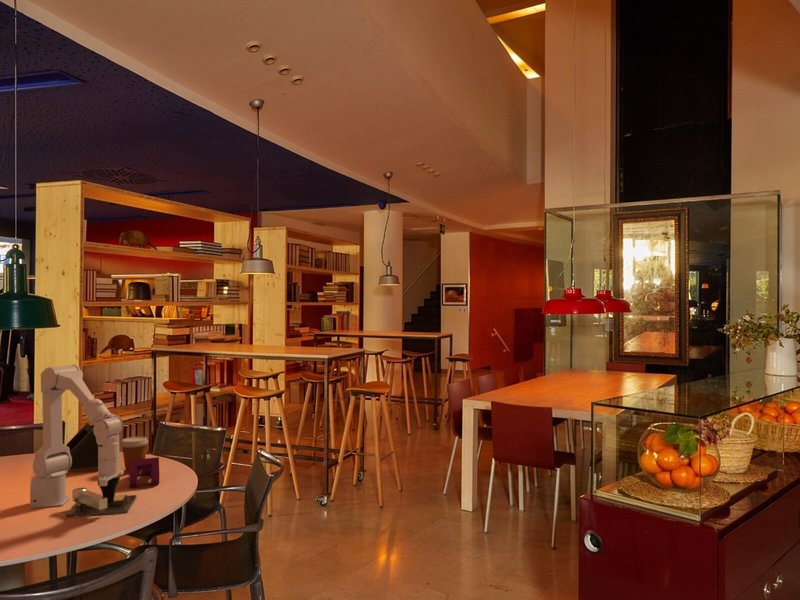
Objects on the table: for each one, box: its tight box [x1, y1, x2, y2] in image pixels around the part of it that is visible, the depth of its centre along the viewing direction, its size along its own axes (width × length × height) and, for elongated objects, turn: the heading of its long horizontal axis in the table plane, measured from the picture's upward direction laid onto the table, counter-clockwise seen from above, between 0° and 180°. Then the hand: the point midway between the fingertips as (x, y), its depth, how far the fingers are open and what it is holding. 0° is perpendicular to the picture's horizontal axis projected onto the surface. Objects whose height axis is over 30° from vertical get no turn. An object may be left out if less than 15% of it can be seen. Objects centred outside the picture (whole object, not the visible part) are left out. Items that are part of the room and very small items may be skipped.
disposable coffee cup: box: [120, 436, 149, 474], centre depth 230 cm, size 10×10×12 cm
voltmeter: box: [65, 422, 98, 473], centre depth 235 cm, size 16×16×20 cm
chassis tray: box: [65, 494, 137, 518], centre depth 189 cm, size 17×14×3 cm
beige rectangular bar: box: [71, 487, 107, 510], centre depth 184 cm, size 16×4×3 cm, turn 53°
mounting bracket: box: [128, 456, 160, 488], centre depth 217 cm, size 9×8×18 cm
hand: (109, 503), depth 183 cm, fingers closed
